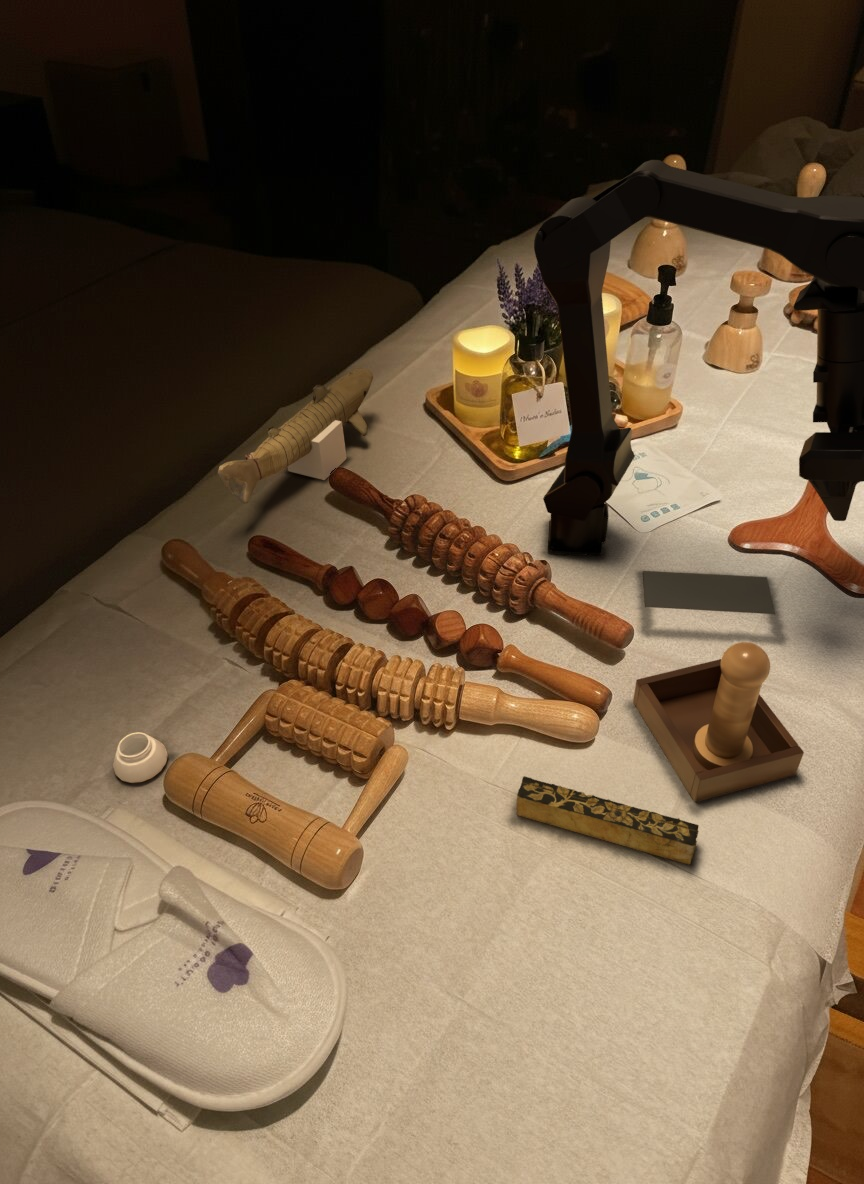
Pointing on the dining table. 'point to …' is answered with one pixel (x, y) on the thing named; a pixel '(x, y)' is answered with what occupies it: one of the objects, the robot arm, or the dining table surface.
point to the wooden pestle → (733, 707)
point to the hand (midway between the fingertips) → (846, 495)
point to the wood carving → (305, 437)
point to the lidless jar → (139, 758)
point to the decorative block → (607, 820)
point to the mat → (707, 592)
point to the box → (686, 707)
